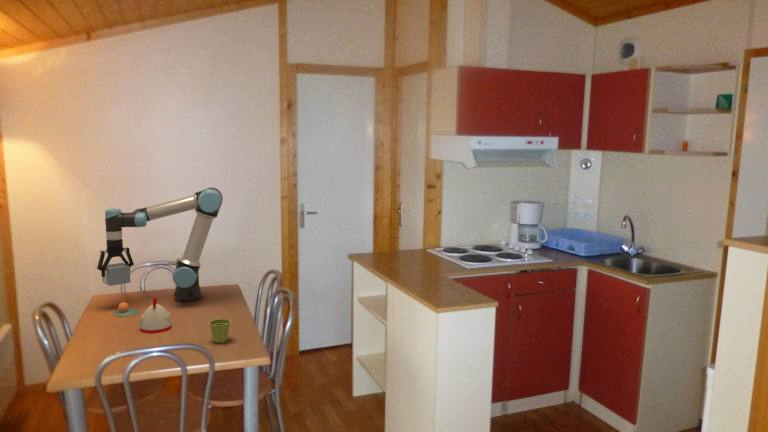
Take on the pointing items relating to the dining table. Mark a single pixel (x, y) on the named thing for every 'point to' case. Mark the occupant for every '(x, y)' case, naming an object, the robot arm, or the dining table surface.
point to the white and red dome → (155, 319)
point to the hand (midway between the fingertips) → (116, 281)
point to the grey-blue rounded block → (117, 274)
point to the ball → (123, 307)
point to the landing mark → (126, 313)
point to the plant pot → (220, 329)
